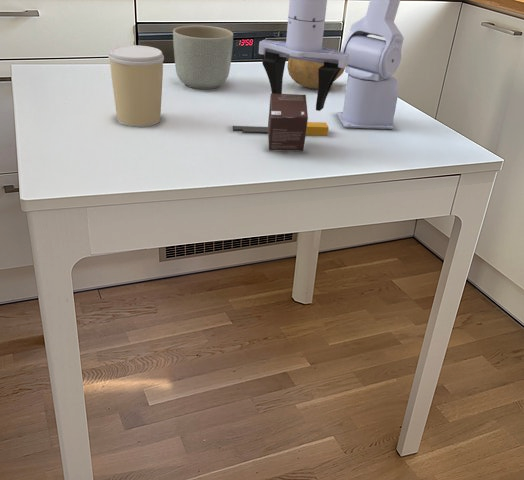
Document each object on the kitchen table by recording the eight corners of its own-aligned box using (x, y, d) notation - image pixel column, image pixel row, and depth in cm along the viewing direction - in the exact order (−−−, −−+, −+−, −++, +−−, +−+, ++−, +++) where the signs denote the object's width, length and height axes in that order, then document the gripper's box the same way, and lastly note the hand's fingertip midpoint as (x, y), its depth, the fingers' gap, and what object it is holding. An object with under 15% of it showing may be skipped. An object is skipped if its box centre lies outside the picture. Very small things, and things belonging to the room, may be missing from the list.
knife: (325, 130, 118) (326, 122, 117) (327, 135, 116) (328, 127, 115) (232, 127, 116) (232, 119, 115) (233, 132, 114) (233, 124, 113)
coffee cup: (174, 117, 119) (174, 50, 112) (146, 132, 111) (144, 60, 105) (132, 108, 122) (129, 42, 115) (101, 121, 114) (96, 51, 108)
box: (302, 128, 112) (307, 94, 106) (303, 152, 108) (308, 117, 102) (267, 127, 111) (270, 92, 105) (267, 151, 108) (270, 116, 102)
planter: (204, 74, 145) (205, 23, 139) (243, 87, 138) (245, 34, 132) (161, 82, 137) (160, 28, 132) (199, 96, 131) (200, 41, 125)
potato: (353, 90, 142) (358, 53, 138) (299, 95, 136) (303, 57, 132) (329, 78, 149) (333, 43, 145) (276, 83, 143) (279, 45, 139)
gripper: (253, 15, 98) (248, 103, 106) (344, 28, 94) (332, 119, 101) (270, 8, 104) (264, 92, 111) (356, 21, 100) (344, 107, 107)
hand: (297, 105), depth 107 cm, fingers open, 7 cm apart
